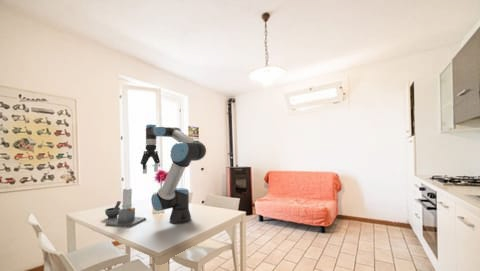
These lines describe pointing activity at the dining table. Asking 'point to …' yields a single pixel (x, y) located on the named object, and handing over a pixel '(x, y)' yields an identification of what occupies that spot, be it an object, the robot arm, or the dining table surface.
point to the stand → (126, 219)
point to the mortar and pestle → (113, 211)
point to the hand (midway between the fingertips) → (150, 172)
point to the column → (127, 199)
